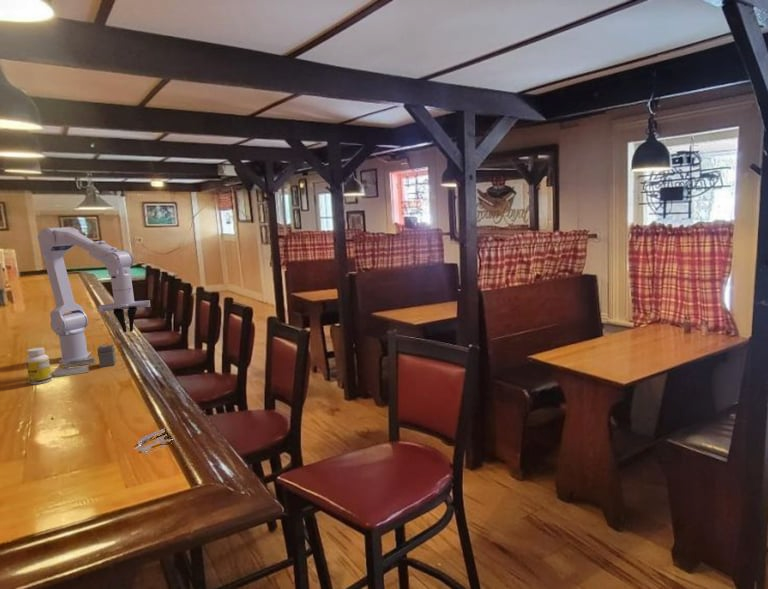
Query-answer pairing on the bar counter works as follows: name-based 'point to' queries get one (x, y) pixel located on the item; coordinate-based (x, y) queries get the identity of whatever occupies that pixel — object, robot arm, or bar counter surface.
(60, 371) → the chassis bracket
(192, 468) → the bar counter surface
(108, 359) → the servo block
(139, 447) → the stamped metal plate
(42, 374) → the supplement bottle
